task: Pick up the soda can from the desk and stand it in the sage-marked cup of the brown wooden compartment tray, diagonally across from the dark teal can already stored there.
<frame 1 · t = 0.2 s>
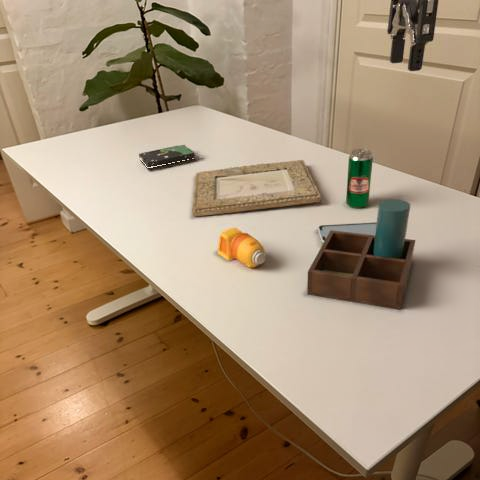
hand: (404, 66, 83), 29 cm above the table, tool pointing down, fingers open, 8 cm apart
picture frame: (253, 190, 118), on the table
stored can: (386, 267, 83), point 1 cm above the table, touching brown wooden compartment tray
brown wooden compartment tray: (361, 277, 83), on the table
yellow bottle: (243, 260, 91), on the table
disk drive: (167, 162, 141), on the table
smartphone: (356, 236, 95), on the table
soda can: (356, 205, 107), on the table
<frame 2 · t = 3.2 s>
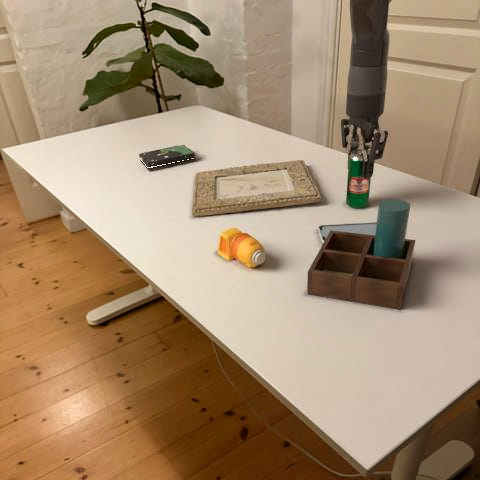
hand: (359, 173, 102), 7 cm above the table, tool pointing down, fingers closed on soda can, 5 cm apart
soda can: (356, 205, 107), on the table, touching gripper
everything else where it was.
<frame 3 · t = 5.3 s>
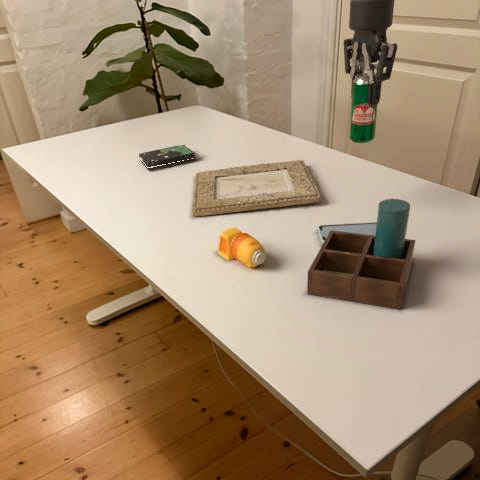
hand: (364, 101, 91), 23 cm above the table, tool pointing down, fingers closed on soda can, 5 cm apart
soda can: (361, 141, 95), point 15 cm above the table, touching gripper
everything else where it was.
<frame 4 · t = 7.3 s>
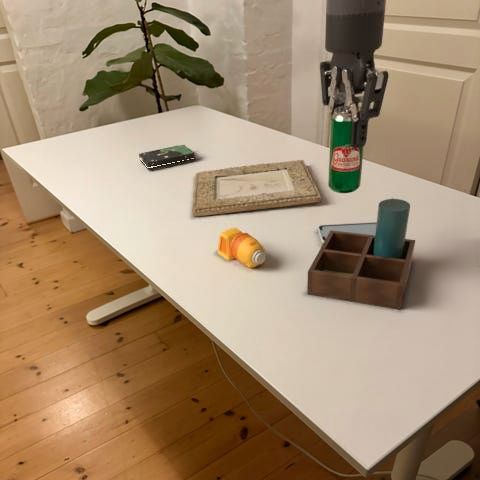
hand: (347, 141, 70), 23 cm above the table, tool pointing down, fingers closed on soda can, 5 cm apart
soda can: (343, 189, 75), point 16 cm above the table, touching gripper
everything else where it was.
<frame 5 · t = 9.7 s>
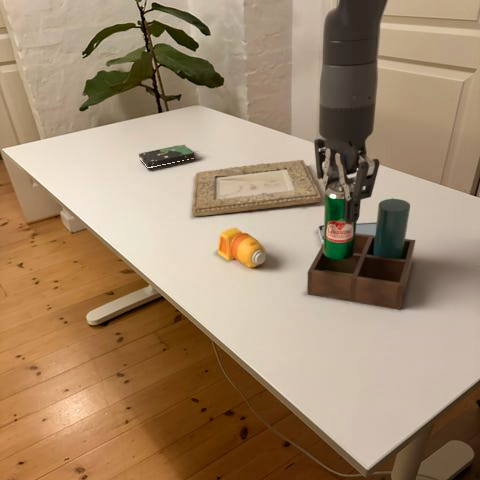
hand: (340, 213, 73), 14 cm above the table, tool pointing down, fingers closed on soda can, 5 cm apart
soda can: (338, 256, 78), point 6 cm above the table, touching gripper
everything else where it was.
when the fingers open (8 cm above the table, at t = 11.5 s): soda can stays where it is, resting on brown wooden compartment tray.
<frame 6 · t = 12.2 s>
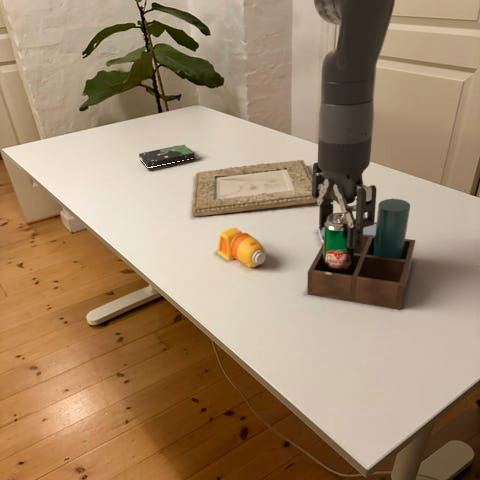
hand: (339, 236, 75), 10 cm above the table, tool pointing down, fingers open, 8 cm apart
soda can: (336, 282, 81), point 1 cm above the table, touching brown wooden compartment tray
everything else where it was.
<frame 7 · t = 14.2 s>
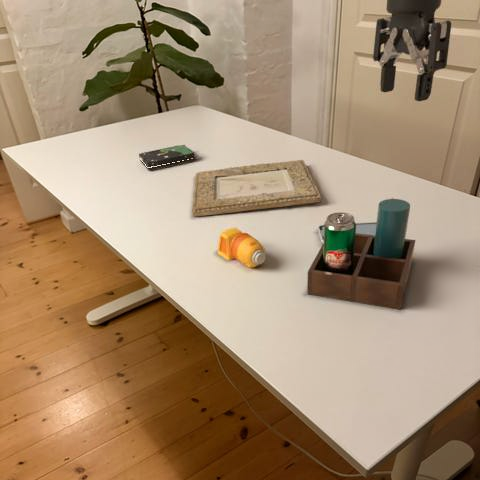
hand: (403, 95, 75), 27 cm above the table, tool pointing down, fingers open, 8 cm apart
nothing on the table moved.
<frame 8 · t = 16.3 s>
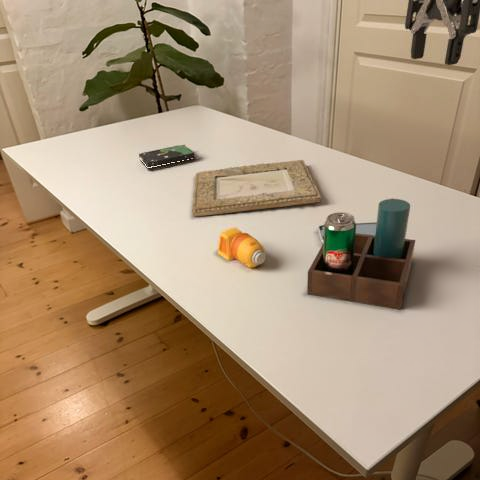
hand: (433, 61, 80), 30 cm above the table, tool pointing down, fingers open, 8 cm apart
nothing on the table moved.
at the end: soda can 0.1 cm from the target spot in the brown wooden compartment tray, point 0.6 cm above the brown wooden compartment tray's base; soda can tilted 0°; the gripper is holding nothing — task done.
